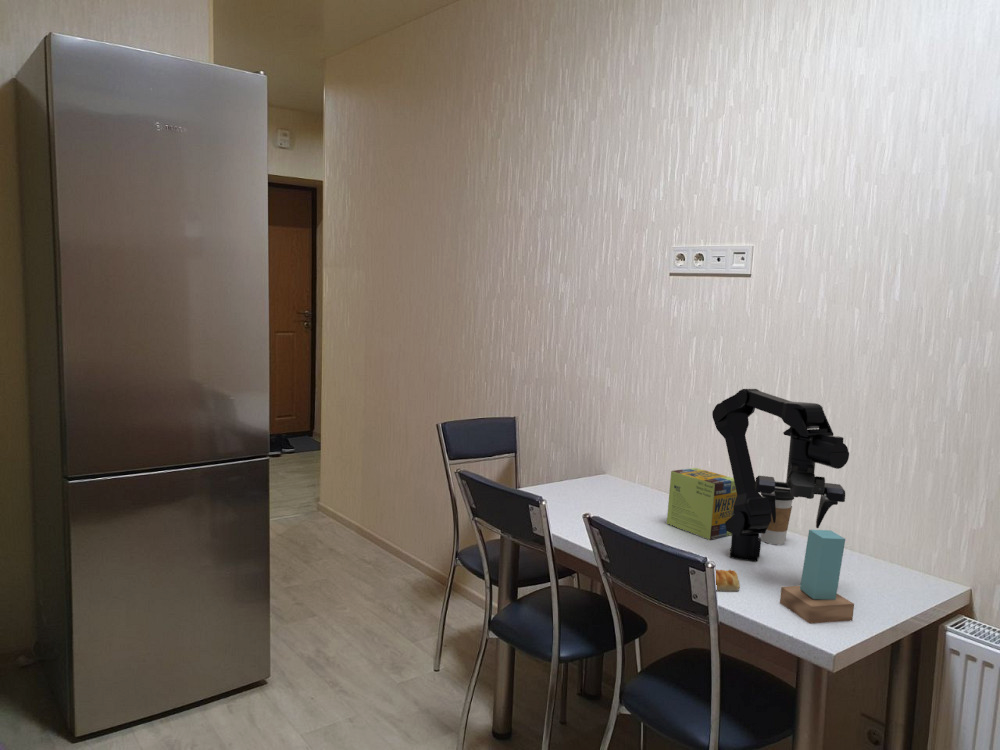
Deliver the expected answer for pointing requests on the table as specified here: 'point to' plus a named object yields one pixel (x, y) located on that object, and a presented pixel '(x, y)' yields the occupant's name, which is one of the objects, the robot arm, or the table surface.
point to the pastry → (727, 580)
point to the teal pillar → (822, 564)
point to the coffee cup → (779, 519)
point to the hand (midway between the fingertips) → (795, 525)
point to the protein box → (701, 502)
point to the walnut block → (816, 606)
